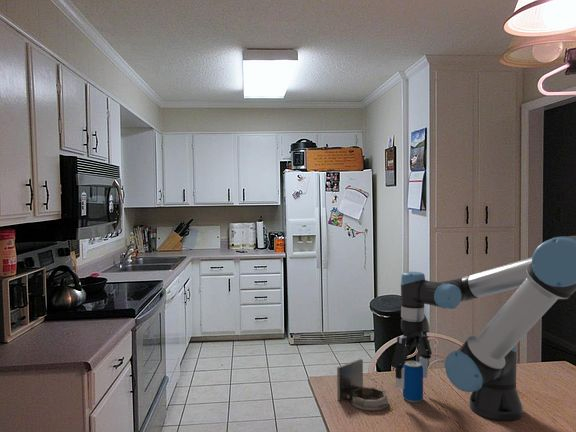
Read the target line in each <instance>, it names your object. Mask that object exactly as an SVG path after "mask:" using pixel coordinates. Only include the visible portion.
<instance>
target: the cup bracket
mask: <svg viewBox="0 0 576 432" xmlns="http://www.w3.org/2000/svg"><path fill="white" fill-rule="evenodd" d="M363 365H364V360H363V359H361V358H359V359H356V360H354V361H351V362H349V363H345V364H343V365H339V366H336V367H337V369H336V370H337V371H336V372H337V373H336V378H337V379H336V380H337V384H336V385H337V386H336V387H337V391H336V392H337V393H336V394H337V401H339V402H341V401H344V400H346V399H348V400H350V404H351V405H352V406H353V407H354V408H356V409H358V410H361V411H364V412H365V411H366V412H380V411H382V410H385V409H387V408H388V406H389V401H388V395H387V392H386V391H385V390H383V389H380V388H378V387H374V386H373V387H372V386H371V387H370V386H367V387H366V386H364V376H363V375H364V366H363Z"/></svg>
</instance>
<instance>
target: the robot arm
mask: <svg viewBox="0 0 576 432" xmlns="http://www.w3.org/2000/svg"><path fill="white" fill-rule="evenodd" d="M425 277H426V276H425V273H423V272H421V271H420V272H419V271H404V272H403V273H402V274H401V280H400V295H401V296H400V297H401V298H400V299H401V302H400V306H401V307H400V317H401V319H400V329H401V331H402V332H403V335H402V336H400V335H398V336H397V338H396V339H397V340H396V345H395V349H394V352H393V355H392V360H391V363H390V366H391V367H392V368H394V369H395V387H396V388H398V389H400V390H401V389H402V390H403V389H404V368H403V366H404V364H405V361H407V358H408V356H409V353H410V352H411V351H412V350H413V349H414V348H416V350H417V352H418V353H419V355H420V356H419V357H418V358H419V361H418V362H420V363H421V364H422V367H423V379H424V378H425V379H428V366H429V365H428V362H429V361H428V359H430V360H431V358H432V354H433V353H432V349H431V345H430V342H429V338H428V331H427V330H425V305H429V306H433V307H438V308H441V309H444V310H445V309H447V310H454V309H457V307H458V306H460V303H463V302H467V301H468V302H469V301H473V300H476V299H478V298H482V297H487V296H490V295H491V296H492V295H494V294H495V295H496V294H499V293H503V292H507V291H512V290H515V289H516V290H515V292H513V294H512V295H511V296H510V297H509V298H508V300H507V301H506V302H505V303H504V304H503V306H501V308H500V309H499V310H498V311H497V313H496V314H495V315H494V316H493V317H492V319H490V321H489V322H488V323H487V325H486V326H485V327H484V328H483V329H482V330H481V331H480V333H478V334H472V335H470V336H469V337H468V338H467V339H466V340H465V342H463V344H462V345H461V346H460V347H459V348H458V349H457V350H454V351H451V352H449V354H448V355H447V356H446V358H445V360H444V369H445V374H446V376H447V378H448V381H450V383H451V384H452V385H453V386H454V387H455V388H457V389H458V390H459V391H461V392H464V393H470V394H471V395H470V397H469V408H470V410H471V411H473V412H474V414H477V415H479V416H481V417H484V418H487V419H490V420H495V421H502V422H503V421H505V422H506V421H507V422H508V421H516V420H520V419H521V418H523V415H524V414H523V408H524V407H523V404H522V402H521V399H520V396H519V395H520V394H519V393H518V390H517V354H518V351H517V345H518V343H519V342H520V341H521V340H522V339H523V338H524V337H525V335H526V334H527V333H528V332H530V330H531V329H533V327H534V326H535V324H536V323H537V322H538V321H539V320H541V318H542V317H543V316H544V315H545V314H546V313H547V312H548V311H549V309H551V308H552V306H553V305H554V304H555V303H556V302H557V301H558V300H567V299H569V298H570V297H571V296H572V295H573V294H574V293H575V292H576V235H569V236H562V235H561V236H554V237H552V238H549V239H547V240H545V241H543V242H542V243H540V244H539V245H538V246H537V247H536V249H534V252H533V253H532V256H531V257H528V258H524V259H521V260H518V261H517V260H516V261H515V262H510V263H507V264H504V265H501V266H498V267H493V268H490V269H487V270H484V271H480V272H477V273H476V272H475V273H473V274H471V275H465V276H463V277H459V278H455V279H449V280H445V281H432V280H427V279H426V278H425Z"/></svg>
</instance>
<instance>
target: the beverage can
mask: <svg viewBox="0 0 576 432" xmlns="http://www.w3.org/2000/svg"><path fill="white" fill-rule="evenodd" d="M403 368H404V389H402V397H403V399H405V400H406V401H407V402H409V403H420V402H421V401H422V400H423V399H424V377H423V367H422V364H421V363H420V362H419V361H418V360H406V361H405V364H404V366H403Z"/></svg>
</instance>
